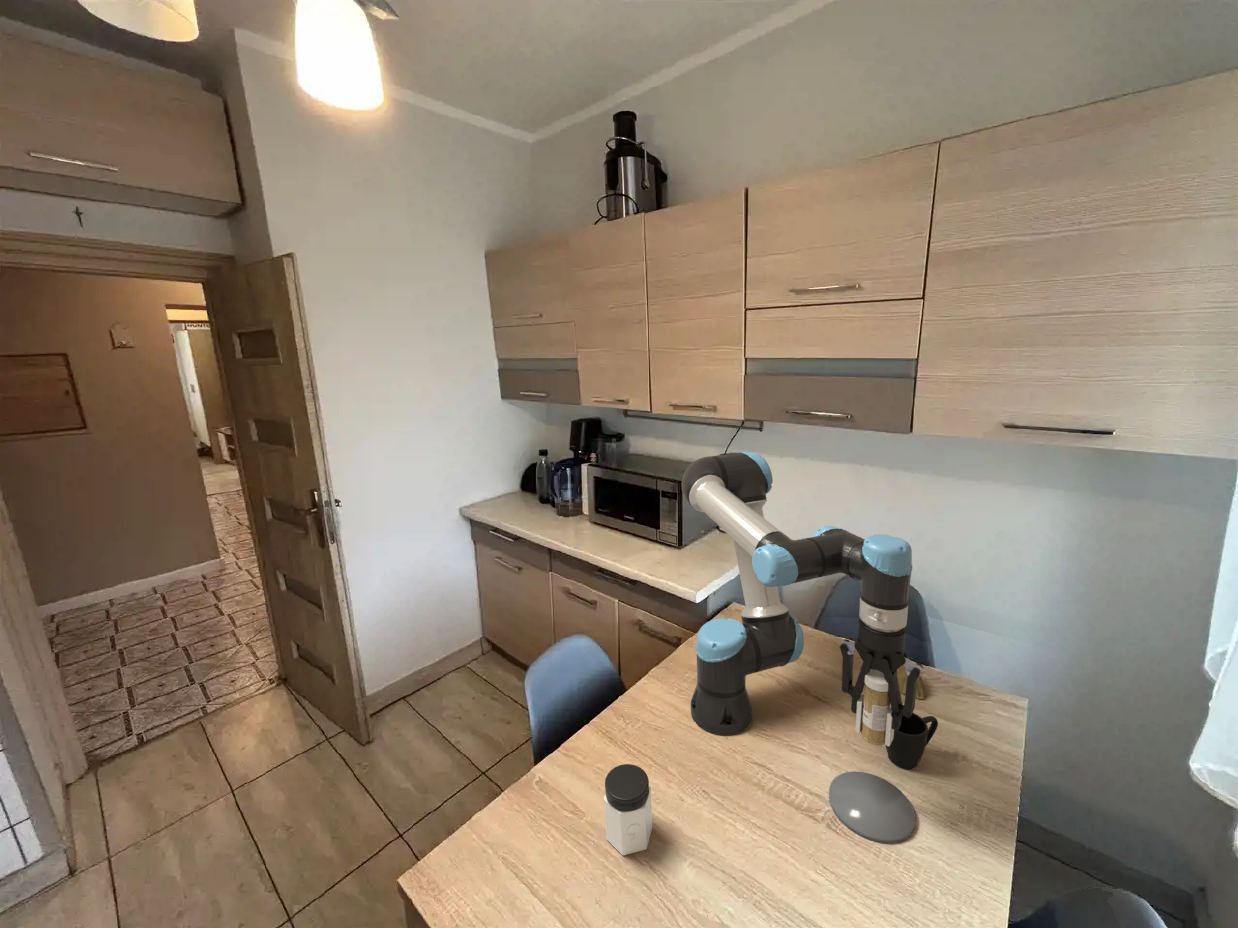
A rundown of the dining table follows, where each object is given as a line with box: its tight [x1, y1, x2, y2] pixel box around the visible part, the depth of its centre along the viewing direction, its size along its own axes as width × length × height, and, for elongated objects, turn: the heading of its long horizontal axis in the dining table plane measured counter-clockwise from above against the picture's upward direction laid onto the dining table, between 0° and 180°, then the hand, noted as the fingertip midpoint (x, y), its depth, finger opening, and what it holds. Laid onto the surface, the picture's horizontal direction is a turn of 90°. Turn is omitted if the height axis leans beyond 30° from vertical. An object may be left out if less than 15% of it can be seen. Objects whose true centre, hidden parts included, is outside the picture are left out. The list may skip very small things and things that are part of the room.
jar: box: [603, 763, 653, 856], centre depth 94 cm, size 9×8×12 cm
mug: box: [884, 712, 939, 770], centre depth 109 cm, size 8×12×10 cm
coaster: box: [828, 770, 916, 844], centre depth 99 cm, size 15×15×1 cm
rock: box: [897, 657, 927, 700], centre depth 130 cm, size 11×9×10 cm
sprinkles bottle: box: [860, 669, 891, 746], centre depth 94 cm, size 5×5×13 cm
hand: (874, 734), depth 95 cm, fingers closed on sprinkles bottle, 4 cm apart
